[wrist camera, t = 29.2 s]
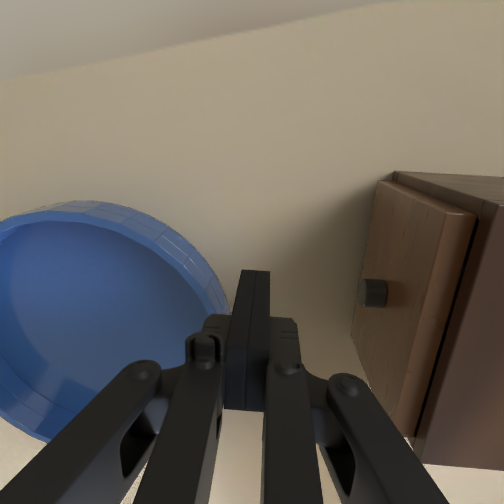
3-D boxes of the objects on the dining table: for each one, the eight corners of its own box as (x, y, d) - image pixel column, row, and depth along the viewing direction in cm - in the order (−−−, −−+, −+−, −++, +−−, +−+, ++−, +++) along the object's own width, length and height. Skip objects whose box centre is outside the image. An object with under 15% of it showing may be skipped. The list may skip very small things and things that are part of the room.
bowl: (-46, 191, 24) (-97, 201, 20) (236, 209, 23) (231, 222, 20) (9, 411, 31) (-22, 445, 27) (228, 430, 30) (223, 467, 27)
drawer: (334, 334, 25) (364, 434, 17) (358, 179, 21) (414, 210, 13) (522, 348, 24) (649, 458, 16) (582, 193, 21) (790, 233, 12)
